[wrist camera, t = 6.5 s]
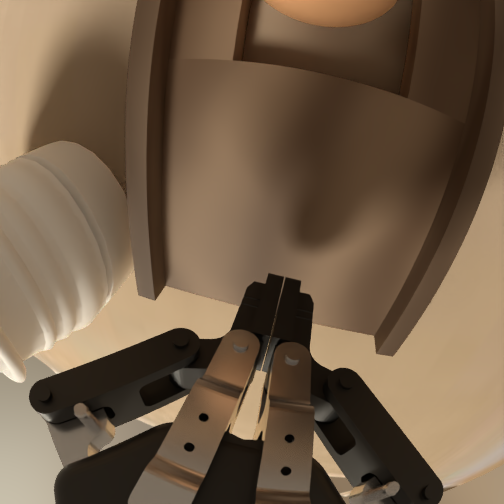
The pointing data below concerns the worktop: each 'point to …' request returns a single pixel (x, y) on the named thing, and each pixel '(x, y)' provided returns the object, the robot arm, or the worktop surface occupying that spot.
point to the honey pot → (57, 248)
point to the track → (308, 163)
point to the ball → (333, 11)
